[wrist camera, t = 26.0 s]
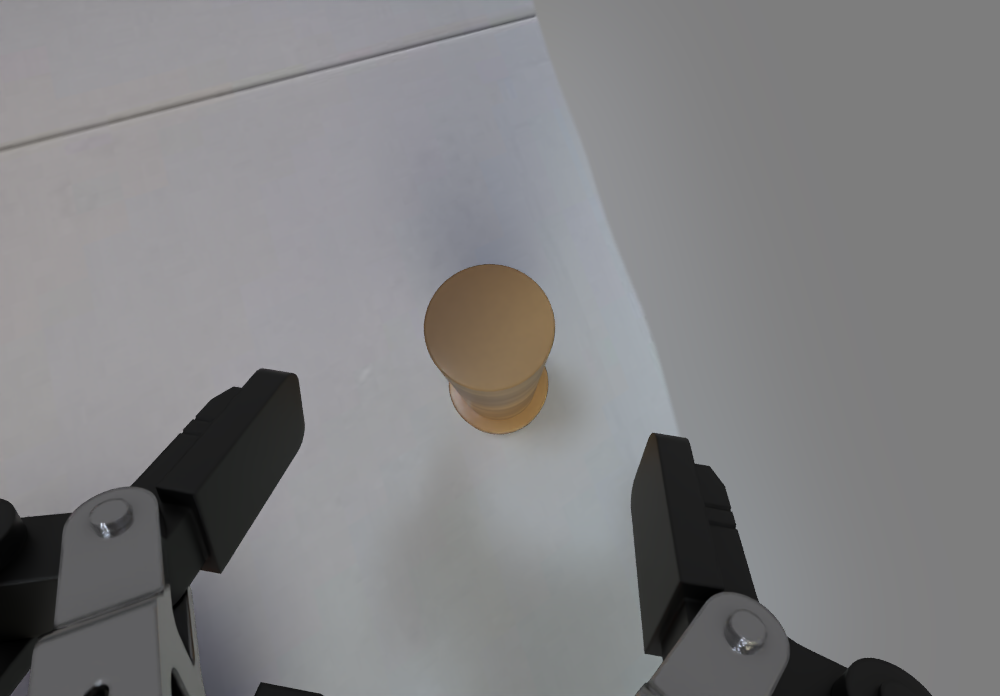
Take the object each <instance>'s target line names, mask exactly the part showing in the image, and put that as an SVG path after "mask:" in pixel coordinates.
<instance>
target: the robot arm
mask: <svg viewBox="0 0 1000 696" xmlns="http://www.w3.org/2000/svg"><path fill="white" fill-rule="evenodd" d="M304 430H305V423H304V415H303V408H302V401H301V394H300V387H299V380H298V377H297V375H296V374H294V373H288V372H282V371H276V370H270V369H264V368H262V369H259V370H257V371H256V372H255V373H254V375H253V376H252V377H251V378H250V379H249V380H248V381H247V383H246V384H245V385H244V386H243V387H242V388H239V387H232V388H230V389H228V390H227V391H225V392H223V393H222V394H220V395H218V396H216V397H215V398H213V399H211V400H210V401H209V402H208V403H207V405H206V406H205V407H204V408H203V409H202V410H201V411H200V412H199V413H198V414H197V415H196V419H195V420H192V421H191V422H190V423H189V424H188V425H187V426H186V427H185V428H184V429H183V433H180V434H179V435H178V436H177V437H176V438H175V439H174V440H173V441H172V442H171V443H170V444H169V446H168V447H167V448H166V449H165V450H164V451H163V452H162V453H161V454H160V455H159V456H158V457H157V459H156V460H155V461H154V462H153V463H152V464H151V465H150V466H149V467H148V468H147V469H146V470H145V471H144V473H143V474H142V475H141V476H140V477H139V478H138V479H137V480H136V481H135V482H134V483H133V484H132V485H131V486H130V487H121V488H116V489H112V490H109V491H106V492H103V493H101V494H98V495H96V496H94V497H92V498H91V499H89V500H87V501H86V502H84V503H83V504H82V505H80V506H79V507H78V508H77V509H76V510H75V511H74V512H73V513H65V514H55V515H44V516H34V517H24V518H20V516H19V515H18V513H17V511H16V510H15V508H14V506H13V505H12V504H11V503H10V502H8V501H6V500H4V499H0V696H10V695H11V693H12V692H13V691H14V689H15V688H16V687H17V685H18V684H19V683H20V681H21V680H22V679H23V678H24V676H25V675H26V674H27V672H28V671H29V670H30V668H31V672H30V680H29V689H28V696H206V693H205V690H204V685H203V681H202V675H201V668H200V659H199V650H198V641H197V632H196V624H195V615H194V606H193V597H192V590H191V587H190V584H191V582H192V581H193V579H194V578H195V576H196V575H197V573H198V572H199V570H204V571H209V572H215V573H220V574H221V573H222V571H223V570H224V568H225V566H226V565H227V563H228V562H229V560H230V559H231V557H232V555H233V554H234V552H235V551H236V549H237V547H238V546H239V544H240V543H241V541H242V539H243V538H244V536H245V535H246V533H247V531H248V530H249V528H250V527H251V525H252V524H253V522H254V520H255V519H256V517H257V516H258V514H259V512H260V511H261V509H262V508H263V506H264V504H265V503H266V501H267V500H268V498H269V497H270V495H271V493H272V492H273V490H274V489H275V487H276V485H277V484H278V482H279V481H280V479H281V477H282V476H283V474H284V473H285V471H286V469H287V468H288V466H289V465H290V463H291V462H292V460H293V458H294V457H295V455H296V454H297V452H298V450H299V448H300V446H301V443H302V440H303V436H304ZM730 509H731V506H730V502H729V499H728V496H727V492H726V489H725V486H724V484H723V483H722V482H721V481H720V479H719V478H718V477H717V475H716V474H715V473H714V471H713V470H712V469H711V467H710V466H706V465H699V464H695V463H694V459H693V455H692V451H691V446H690V443H689V440H688V439H687V438H682V437H676V436H670V435H664V434H658V433H652V434H651V435H650V437H649V439H648V442H647V444H646V447H645V450H644V453H643V456H642V459H641V462H640V465H639V467H638V470H637V473H636V476H635V479H634V483H633V487H632V494H631V513H632V524H633V535H634V545H635V556H636V566H637V577H638V588H639V598H640V609H641V620H642V630H643V641H644V651H645V654H650V655H655V656H661V657H663V662H662V664H661V665H660V667H659V668H658V669H657V671H656V672H655V674H654V675H653V676H652V678H651V679H650V680H649V681H648V683H645V684H644V685H643V686H642V687H641V688H640V690H639V691H638V692H637V694H636V695H635V696H932V695H931V694H930V693H929V692H928V691H927V689H926V688H925V687H924V686H923V685H922V684H921V683H920V682H918V681H917V680H916V679H915V678H914V677H913V676H911V675H910V674H908V673H907V672H906V671H904V670H902V669H901V668H899V667H897V666H896V665H893V664H891V663H889V662H886V661H883V660H880V659H875V658H863V659H859V660H857V661H855V662H854V663H852V665H851V666H850V667H849V668H846V667H844V666H842V665H839V664H838V663H836V662H834V661H832V660H830V659H827V658H825V657H823V656H821V655H819V654H817V653H815V652H813V651H811V650H809V649H807V648H805V647H803V646H801V645H799V644H797V643H796V642H794V641H793V640H791V639H790V638H789V637H787V636H786V633H785V631H784V629H783V627H782V626H781V624H780V622H779V621H778V620H777V619H776V617H775V616H774V615H773V614H772V613H771V612H770V611H769V610H768V609H767V608H765V607H764V606H763V605H762V604H760V603H759V601H758V598H757V595H756V592H755V589H754V585H753V582H752V578H751V575H750V571H749V568H748V564H747V561H746V558H745V554H744V551H743V547H742V544H741V540H740V537H739V534H738V530H737V529H736V523H735V520H734V516H733V513H732V512H731V510H730ZM254 696H323V695H322V694H319V693H314V692H309V691H303V690H298V689H293V688H288V687H283V686H278V685H272V684H267V683H262V682H260V685H259V687H258V689H257V691H256V693H255V695H254Z"/></svg>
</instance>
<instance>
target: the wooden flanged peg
mask: <svg viewBox="0 0 1000 696" xmlns="http://www.w3.org/2000/svg"><path fill="white" fill-rule="evenodd" d="M554 335H555V320H554V314H553V310H552V307H551V304H550V302H549V300H548V298H547V296H546V295H545V293H544V291H543V290H542V289H541V288H540V286H539V285H538V284H537V283H536V282H535V281H534V280H532V279H531V278H530V277H528V276H527V275H526V274H524V273H522V272H520V271H518V270H516V269H513V268H511V267H507V266H503V265H495V264H484V265H477V266H473V267H469V268H467V269H464V270H462V271H460V272H458V273H456V274H454V275H453V276H451V277H450V278H449V279H447V280H446V281H445V282H444V283H443V284H442V285H441V286H440V287H439V288H438V290H437V291H436V292H435V294H434V295H433V297H432V299H431V301H430V303H429V305H428V308H427V311H426V315H425V321H424V336H425V342H426V346H427V349H428V352H429V354H430V356H431V358H432V360H433V362H434V363H435V365H436V366H437V367H438V368H439V370H440V371H441V372H442V373H443V375H444V376H445V377H446V378H447V380H448V381H449V391H450V396H451V400H452V402H453V405H454V407H455V408H456V410H457V412H458V413H459V414H460V415H461V417H462V418H463V419H464V420H465V421H466V422H468V423H469V424H470V425H472V426H473V427H475V428H476V429H478V430H481V431H483V432H486V433H490V434H507V433H512V432H515V431H517V430H520V429H522V428H523V427H525V426H527V425H528V424H529V423H530V422H531V421H532V420H533V419H534V418H535V417H536V416H537V414H538V413H539V412H540V410H541V408H542V406H543V404H544V402H545V399H546V396H547V392H548V376H547V371H546V368H545V364H546V361H547V359H548V356H549V353H550V351H551V348H552V345H553V341H554Z"/></svg>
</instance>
